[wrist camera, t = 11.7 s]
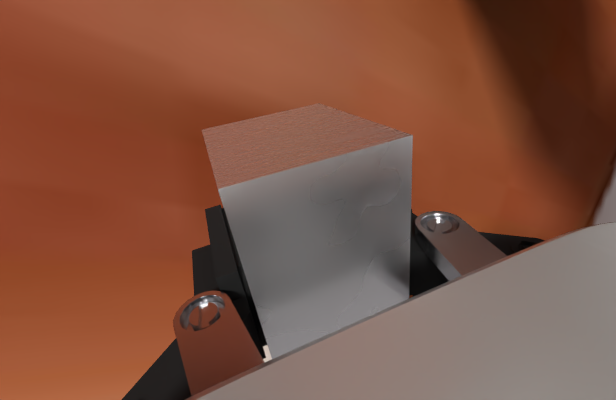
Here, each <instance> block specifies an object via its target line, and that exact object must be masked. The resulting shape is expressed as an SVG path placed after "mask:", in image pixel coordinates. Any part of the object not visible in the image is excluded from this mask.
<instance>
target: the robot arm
mask: <svg viewBox="0 0 616 400" xmlns="http://www.w3.org/2000/svg"><path fill="white" fill-rule="evenodd" d="M205 212H206V219H207V225H208V232H209V239H210V245H208V246H205V247H202V248H198V249H195V250H193V251H192V260H193V280H194V297H192V298H190V299H189V300H187V301H186V302H185V303H184V304H183V305H182V306H181V307H180V308H179V310H178V311H177V312H176V315H175V317H174V320H173V327H174V331H175V335H176V339H175V340H174V341H173V342H172V343H171V345H170V346H169V347H168V348H167V349H166V350H165V351H164V352H163V354H162V355H161V356H160V357H159V358H158V359H157V360H156V362H155V363H154V364H153V365H152V366H151V367H150V368H149V369H148V371H147V372H146V373H145V374H144V375H143V376H142V377H141V378H140V380H139V381H138V382H137V383H136V384H135V385H134V386H133V388H132V389H131V390H130V391H129V392H128V393H127V394H126V395H125V397H124V398H123V399H122V400H616V222H610V223H604V224H598V225H593V226H588V227H584V228H581V229H577V230H574V231H570V232H567V233H565V234H562V235H559V236H557V237H554V238H551V239H549V240H546V241H544V240H541V239H538V238H529V237H520V236H511V235H501V234H492V233H483V232H477V231H476V230H475V229H474V228H472V227H471V226H470V225H469V224H467V223H466V222H465V221H464V220H462V219H461V218H460V217H458V216H456V215H454V214H451V213H448V212H442V211H432V212H426V213H423V214H421V215H420V216H416V215H415V214H413V213H412V209H411V230H410V275H409V295H413V297H412V298H409V299H407V300H405V301H402V302H400V303H398V304H396V305H393V306H391V307H389V308H386V309H384V310H382V311H380V312H377V313H375V314H373V315H371V316H368V317H366V318H364V319H361V320H359V321H357V322H355V323H352V324H350V325H348V326H346V327H343V328H341V329H339V330H337V331H334V332H332V333H330V334H328V335H325V336H323V337H321V338H319V339H316V340H314V341H312V342H310V343H307V344H305V345H303V346H301V347H298V348H296V349H294V350H292V351H289V352H287V353H285V354H283V355H280V356H278V357H276V358H274V359H271V360H269V361H267V362H264V360H263V359H264V358H266V356H265V352H264V348H263V346H266V345H267V342H266V339H265V336H264V332H263V329H262V326H261V323H260V320H259V317H258V314H257V310H256V307H255V304H254V301H253V298H252V295H251V292H250V288H249V285H248V282H247V279H246V276H245V273H244V270H243V266H242V263H241V260H240V257H239V254H238V251H237V248H236V244H235V241H234V238H233V235H232V232H231V229H230V226H229V222H228V219H227V216H226V213H225V210H224V208H221V205H218V206H215V207H211V208H208V209H205Z"/></svg>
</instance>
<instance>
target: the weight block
mask: <svg viewBox="0 0 616 400" xmlns="http://www.w3.org/2000/svg"><path fill="white" fill-rule="evenodd" d="M202 133H203V136H204V140H205V144H206V147H207V151H208V155H209V158H210V162H211V166H212V169H213V173H214V177H215V180H216V184H217V188H218V191H219V194H220V197H221V200H222V204H223V207H224V210H225V213H226V216H227V219H228V222H229V226H230V229H231V232H232V235H233V238H234V241H235V244H236V248H237V251H238V254H239V257H240V260H241V263H242V266H243V270H244V273H245V276H246V279H247V282H248V285H249V288H250V292H251V295H252V298H253V301H254V304H255V307H256V310H257V314H258V317H259V320H260V323H261V326H262V329H263V332H264V336H265V339H266V342H267V345H268V348H269V351H270V354H271V358H272V359H274V358H276V357H278V356H280V355H283V354H285V353H287V352H289V351H292V350H294V349H296V348H298V347H301V346H303V345H305V344H307V343H310V342H312V341H314V340H316V339H319V338H321V337H323V336H325V335H328V334H330V333H332V332H334V331H337V330H339V329H341V328H343V327H346V326H348V325H350V324H352V323H355V322H357V321H359V320H361V319H364V318H366V317H368V316H371V315H373V314H375V313H377V312H380V311H382V310H384V309H386V308H389V307H391V306H393V305H396V304H398V303H400V302H402V301H405V300H407V299H409V275H410V230H411V184H412V139H413V135H411V134H408V133H405V132H402V131H399V130H396V129H393V128H390V127H387V126H384V125H381V124H378V123H375V122H373V121H370V120H367V119H364V118H361V117H358V116H355V115H352V114H349V113H346V112H343V111H340V110H337V109H334V108H331V107H328V106H325V105H323V104H320V103H318V104H314V105H310V106H305V107H301V108H296V109H292V110H287V111H283V112H278V113H274V114H270V115H265V116H261V117H256V118H252V119H247V120H243V121H239V122H234V123H230V124H225V125H221V126H216V127H212V128H207V129H203V130H202Z"/></svg>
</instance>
